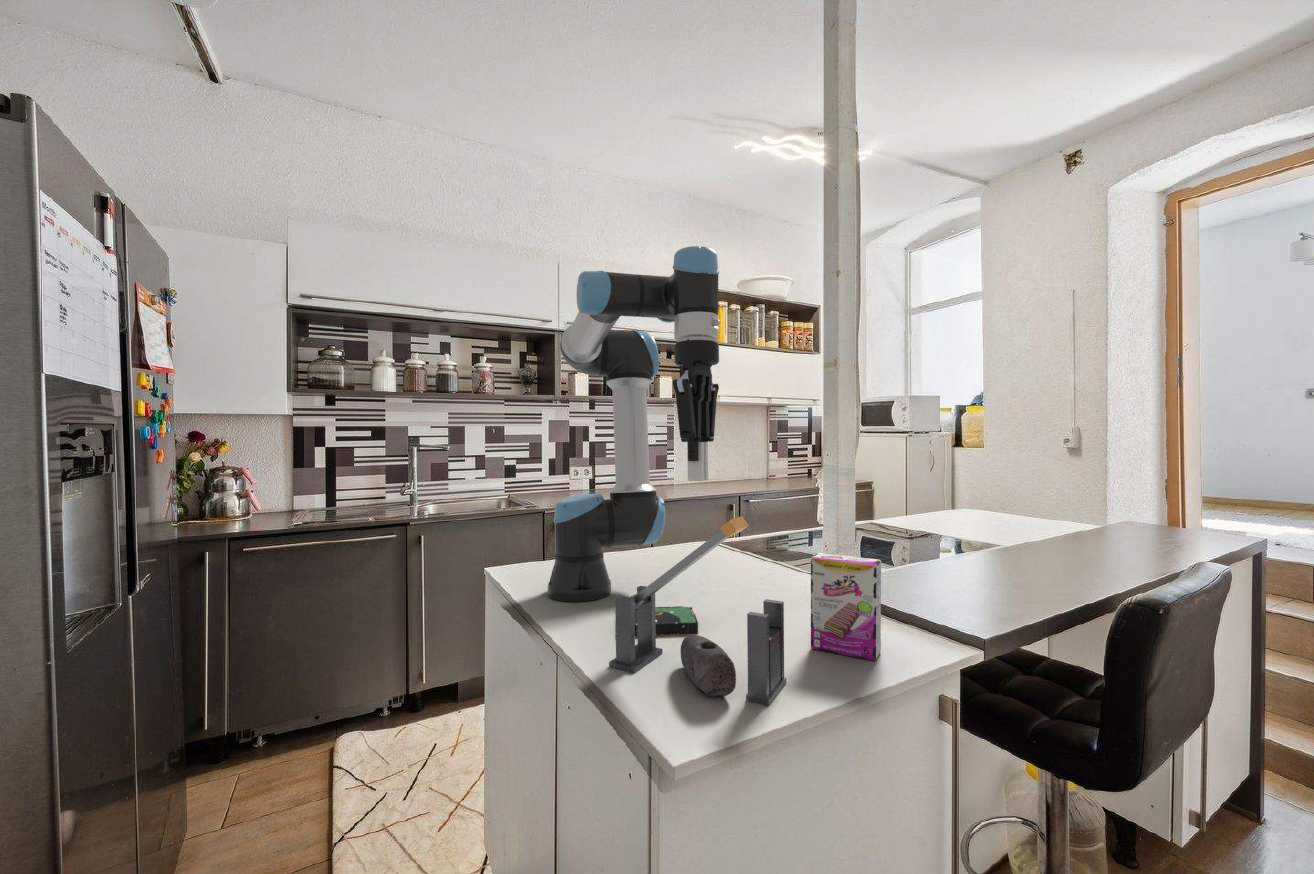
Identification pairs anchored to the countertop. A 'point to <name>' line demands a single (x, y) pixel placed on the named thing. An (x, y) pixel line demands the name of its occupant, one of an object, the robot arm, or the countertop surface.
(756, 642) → the catch block
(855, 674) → the countertop surface
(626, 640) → the bracket
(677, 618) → the disk drive
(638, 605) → the grey long bar
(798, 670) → the countertop surface
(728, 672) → the perforated stone tool
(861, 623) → the candy bar box
